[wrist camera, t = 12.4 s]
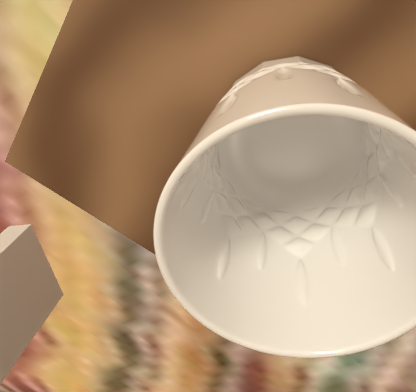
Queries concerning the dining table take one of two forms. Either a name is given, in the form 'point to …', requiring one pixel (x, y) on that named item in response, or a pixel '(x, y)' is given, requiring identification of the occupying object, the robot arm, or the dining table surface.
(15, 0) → the dining table surface
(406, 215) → the white cup
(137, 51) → the walnut board
